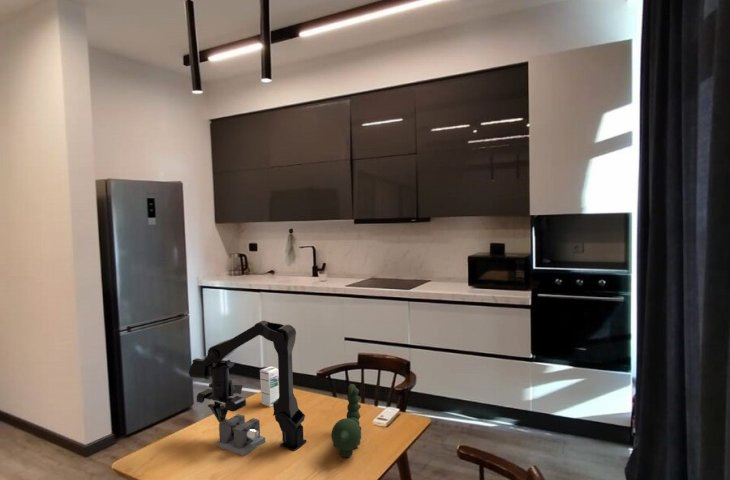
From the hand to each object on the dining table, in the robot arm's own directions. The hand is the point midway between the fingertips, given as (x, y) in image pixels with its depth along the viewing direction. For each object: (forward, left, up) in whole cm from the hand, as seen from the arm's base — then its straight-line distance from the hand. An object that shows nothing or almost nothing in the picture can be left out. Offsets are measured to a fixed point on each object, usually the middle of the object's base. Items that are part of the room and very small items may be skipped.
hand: (221, 423), depth 148 cm
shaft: (-9, 0, -3) cm, 9 cm away
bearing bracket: (-9, 0, -5) cm, 10 cm away
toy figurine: (-42, -16, -5) cm, 46 cm away
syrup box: (+5, -30, -5) cm, 31 cm away
